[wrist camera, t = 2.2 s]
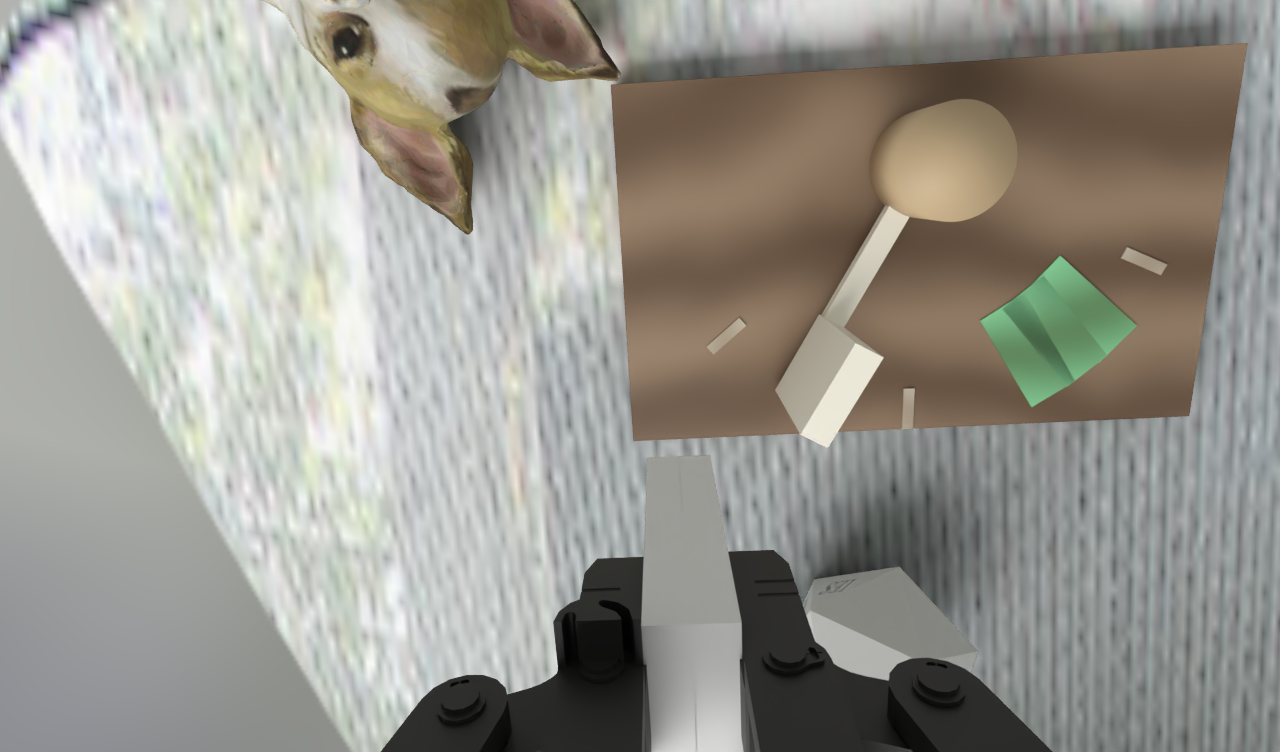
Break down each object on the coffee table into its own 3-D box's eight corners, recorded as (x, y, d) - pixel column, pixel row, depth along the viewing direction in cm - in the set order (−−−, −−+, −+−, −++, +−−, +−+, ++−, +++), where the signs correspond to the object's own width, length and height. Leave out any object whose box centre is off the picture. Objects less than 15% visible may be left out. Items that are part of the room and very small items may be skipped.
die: (864, 502, 37) (780, 614, 30) (1026, 609, 33) (972, 761, 26) (807, 595, 41) (723, 709, 34) (943, 696, 38) (879, 844, 31)
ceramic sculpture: (265, -378, 20) (632, 44, 23) (373, -223, 28) (632, 71, 31) (57, -79, 22) (421, 265, 25) (215, -18, 30) (473, 236, 34)
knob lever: (827, 416, 33) (863, 465, 27) (744, 374, 32) (763, 416, 26) (995, 140, 29) (1079, 129, 23) (905, 90, 29) (968, 65, 23)
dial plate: (1166, 406, 34) (1190, 416, 32) (634, 430, 35) (633, 441, 34) (1219, 50, 30) (1249, 42, 28) (613, 89, 31) (610, 84, 29)
